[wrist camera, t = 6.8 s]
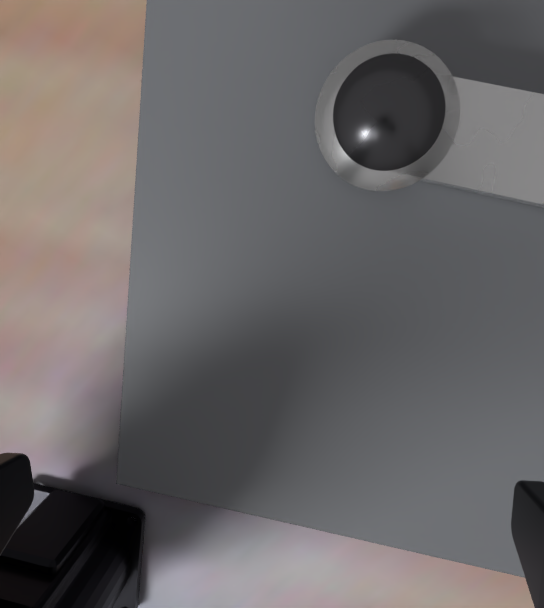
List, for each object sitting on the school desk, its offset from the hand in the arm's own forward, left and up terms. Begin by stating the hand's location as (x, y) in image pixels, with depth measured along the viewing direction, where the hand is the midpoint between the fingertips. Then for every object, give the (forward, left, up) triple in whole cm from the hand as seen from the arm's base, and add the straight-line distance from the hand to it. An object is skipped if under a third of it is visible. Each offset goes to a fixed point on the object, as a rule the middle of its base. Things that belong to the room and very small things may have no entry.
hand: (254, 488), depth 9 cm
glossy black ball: (+8, -2, -8) cm, 11 cm away
